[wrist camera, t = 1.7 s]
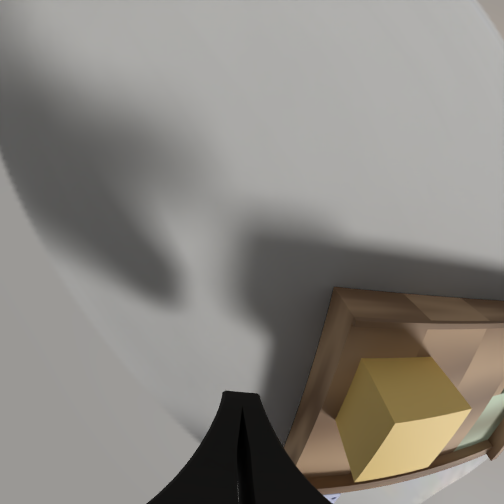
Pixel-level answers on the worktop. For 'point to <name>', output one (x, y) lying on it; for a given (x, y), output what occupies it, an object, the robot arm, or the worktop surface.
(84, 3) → the worktop surface
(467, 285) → the worktop surface
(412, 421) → the ochre block
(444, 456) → the box
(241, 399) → the robot arm
